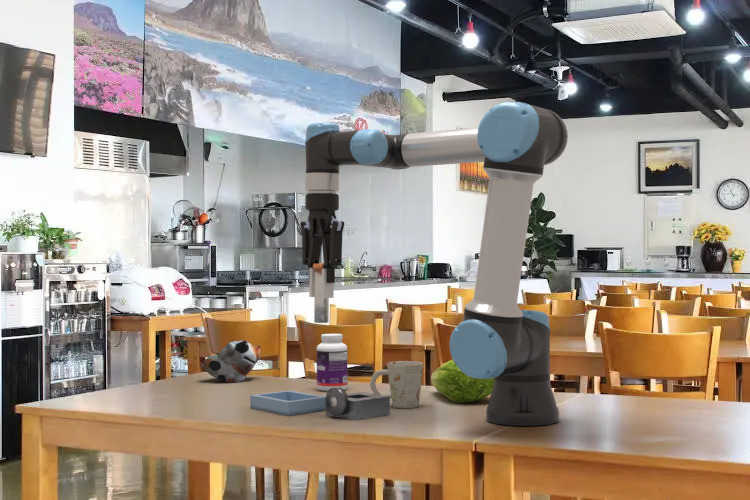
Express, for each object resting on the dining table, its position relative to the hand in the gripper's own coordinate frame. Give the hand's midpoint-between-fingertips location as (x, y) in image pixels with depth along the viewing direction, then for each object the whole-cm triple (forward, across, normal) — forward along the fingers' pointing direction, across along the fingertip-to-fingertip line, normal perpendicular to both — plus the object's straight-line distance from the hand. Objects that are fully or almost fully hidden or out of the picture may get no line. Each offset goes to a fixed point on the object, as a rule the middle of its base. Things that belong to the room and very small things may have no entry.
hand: (321, 297), depth 222 cm
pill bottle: (+26, +26, -23) cm, 44 cm away
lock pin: (+6, 0, 0) cm, 6 cm away
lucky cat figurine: (+27, +62, -15) cm, 69 cm away
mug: (+26, -6, -17) cm, 32 cm away
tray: (+26, +8, +3) cm, 27 cm away
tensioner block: (+25, -9, -3) cm, 27 cm away
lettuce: (+26, -7, -36) cm, 45 cm away
